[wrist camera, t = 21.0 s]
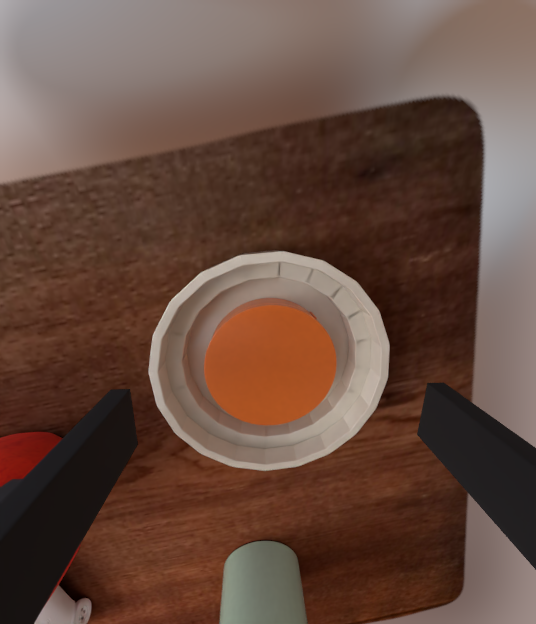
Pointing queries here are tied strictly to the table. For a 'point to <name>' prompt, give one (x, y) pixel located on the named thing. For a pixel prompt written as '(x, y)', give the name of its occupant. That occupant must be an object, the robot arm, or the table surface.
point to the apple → (26, 459)
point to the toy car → (64, 610)
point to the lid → (269, 362)
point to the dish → (199, 330)
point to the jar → (262, 586)
